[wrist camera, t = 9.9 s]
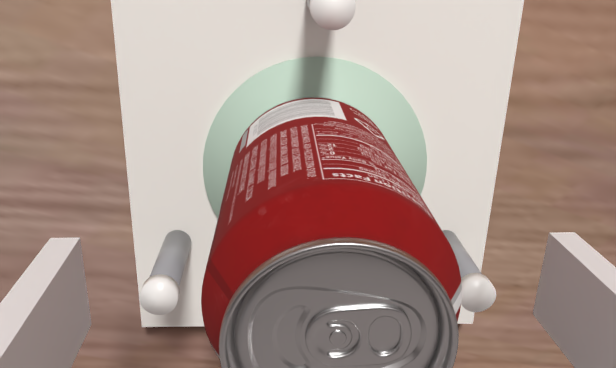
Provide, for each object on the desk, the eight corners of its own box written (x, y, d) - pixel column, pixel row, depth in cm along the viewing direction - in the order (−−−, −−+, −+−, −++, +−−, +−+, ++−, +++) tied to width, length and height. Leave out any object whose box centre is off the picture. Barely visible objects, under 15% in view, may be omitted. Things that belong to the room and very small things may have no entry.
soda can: (225, 95, 23) (173, 223, 11) (391, 89, 23) (500, 207, 12) (237, 245, 25) (205, 469, 14) (388, 238, 25) (474, 453, 14)
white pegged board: (147, 312, 28) (116, 396, 22) (115, -36, 22) (64, -36, 17) (464, 309, 29) (508, 389, 23) (515, -24, 23) (589, -21, 18)
